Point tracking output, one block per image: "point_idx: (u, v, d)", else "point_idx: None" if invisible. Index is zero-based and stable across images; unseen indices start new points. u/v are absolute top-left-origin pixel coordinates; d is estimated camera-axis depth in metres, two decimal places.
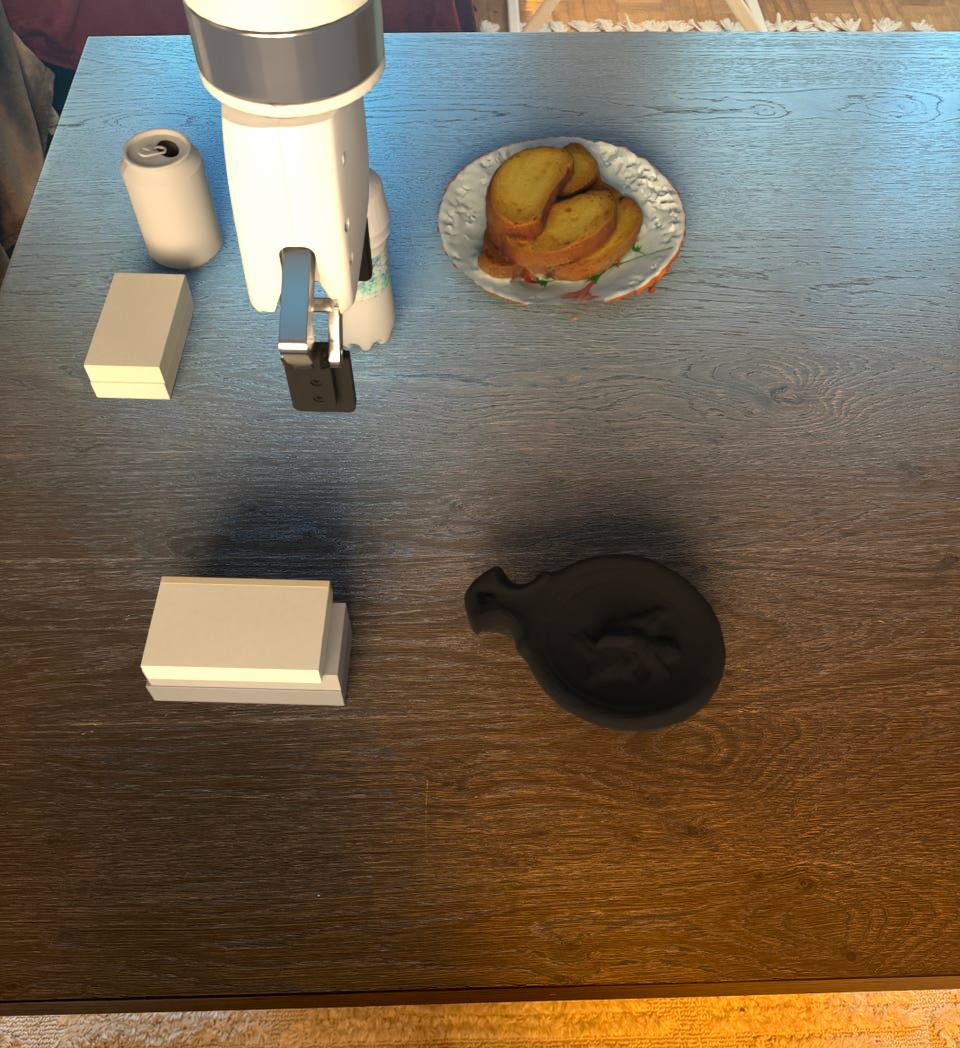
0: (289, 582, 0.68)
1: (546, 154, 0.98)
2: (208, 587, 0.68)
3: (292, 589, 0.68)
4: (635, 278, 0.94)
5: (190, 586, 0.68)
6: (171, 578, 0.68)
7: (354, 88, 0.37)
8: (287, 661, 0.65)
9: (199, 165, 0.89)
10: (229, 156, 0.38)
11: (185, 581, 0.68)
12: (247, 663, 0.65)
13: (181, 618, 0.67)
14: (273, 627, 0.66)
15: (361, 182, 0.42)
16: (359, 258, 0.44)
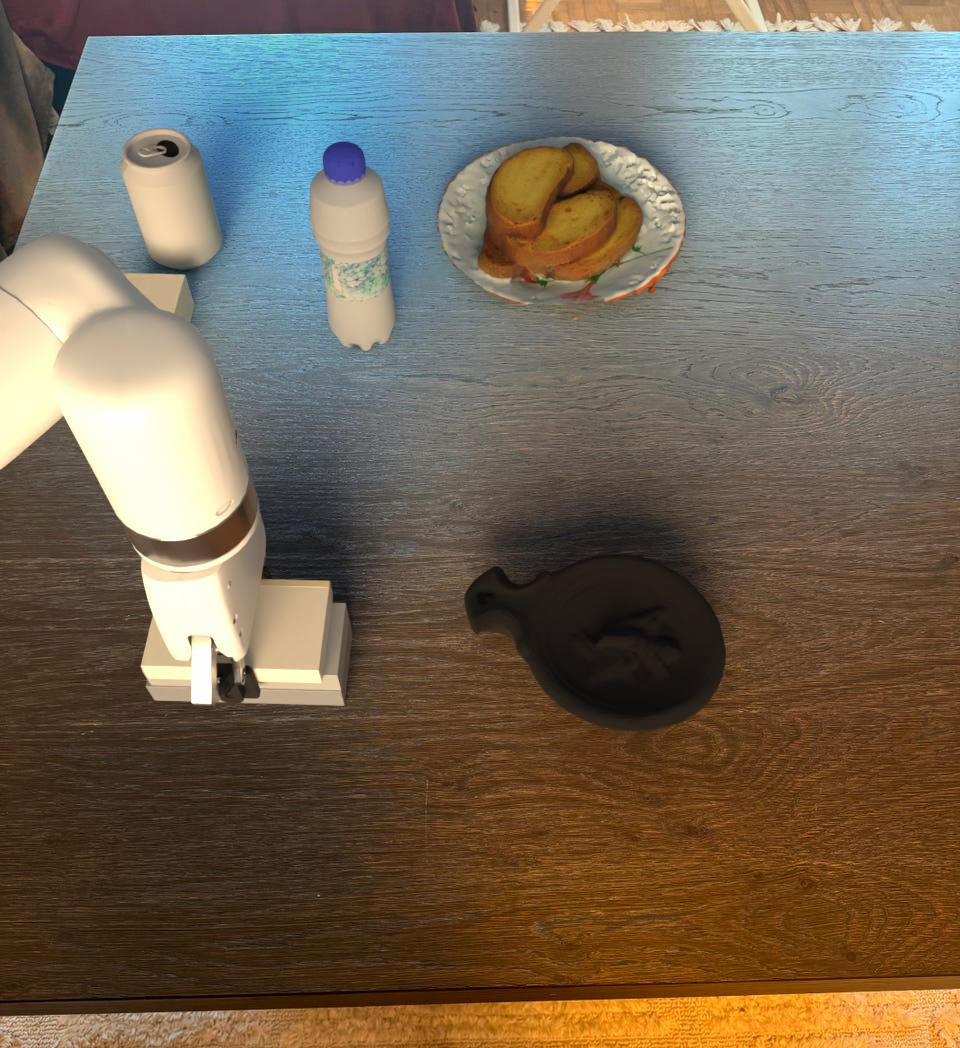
0: (289, 582, 0.68)
1: (546, 154, 0.98)
2: None
3: (292, 589, 0.68)
4: (635, 278, 0.94)
5: None
6: None
7: (233, 549, 0.54)
8: (287, 661, 0.65)
9: (199, 165, 0.89)
10: (147, 592, 0.54)
11: None
12: (247, 663, 0.65)
13: None
14: (273, 627, 0.66)
15: (249, 576, 0.59)
16: (251, 619, 0.61)
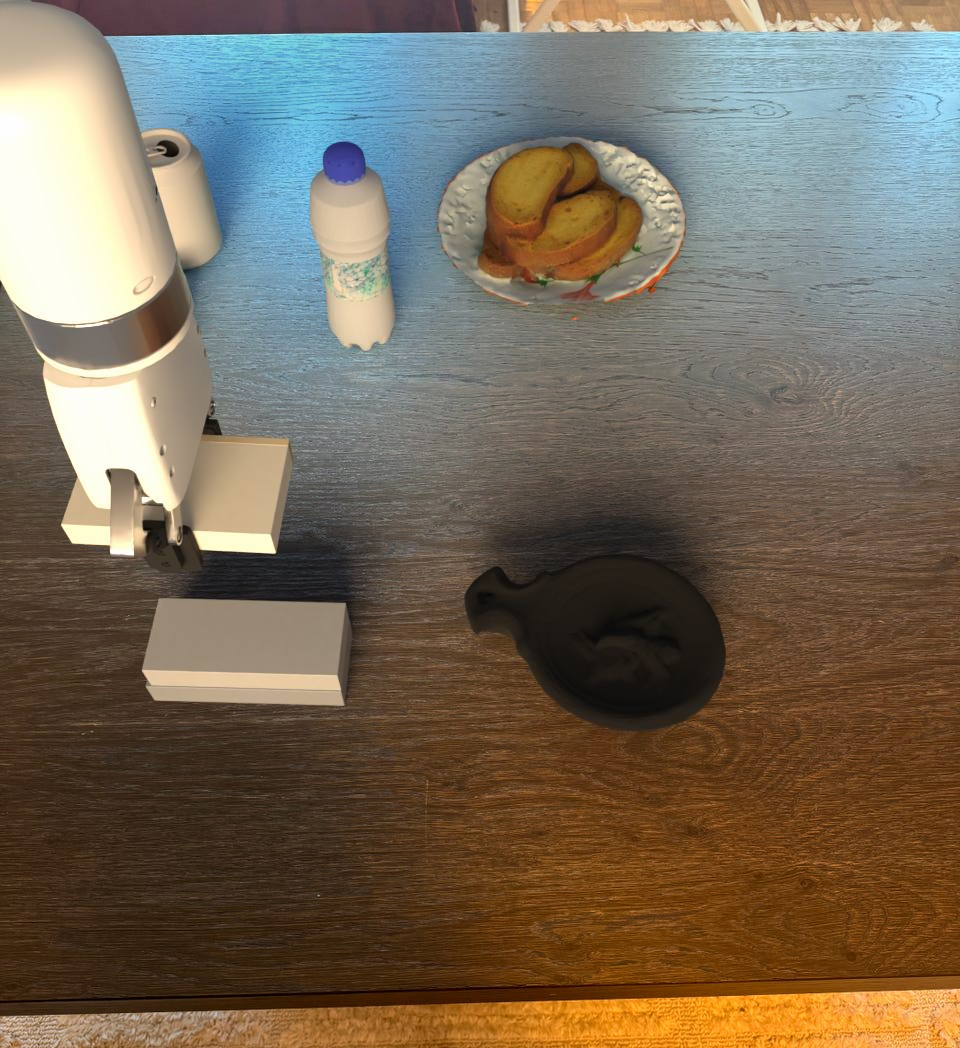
0: (242, 439, 0.58)
1: (546, 154, 0.98)
2: None
3: (245, 446, 0.58)
4: (635, 278, 0.94)
5: None
6: None
7: (156, 352, 0.44)
8: (234, 524, 0.55)
9: (199, 165, 0.89)
10: (52, 404, 0.45)
11: None
12: (187, 525, 0.55)
13: None
14: (220, 486, 0.56)
15: (183, 405, 0.49)
16: (187, 462, 0.51)
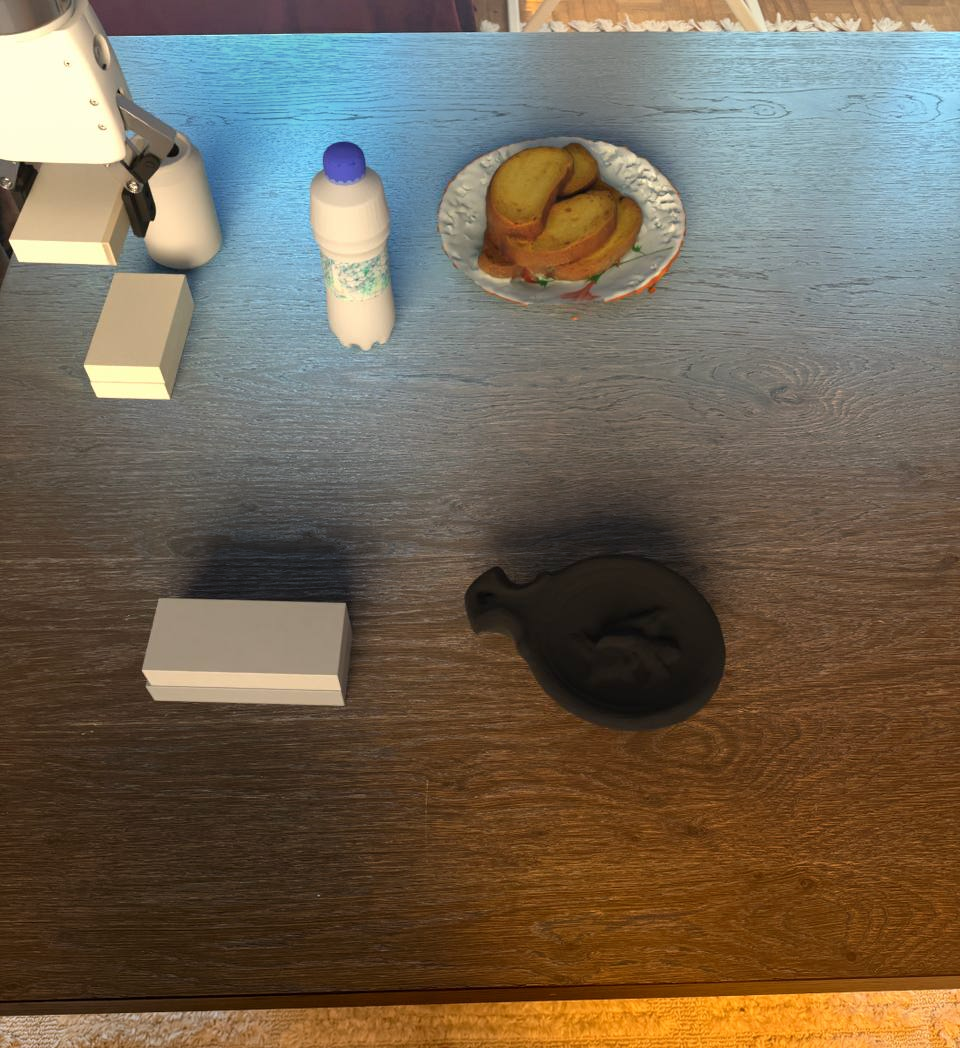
0: (115, 216, 0.69)
1: (546, 154, 0.98)
2: None
3: (105, 218, 0.69)
4: (635, 278, 0.94)
5: None
6: (140, 145, 0.74)
7: None
8: (26, 220, 0.69)
9: (199, 165, 0.89)
10: None
11: None
12: (33, 196, 0.70)
13: None
14: (66, 209, 0.70)
15: (13, 104, 0.63)
16: (12, 144, 0.66)
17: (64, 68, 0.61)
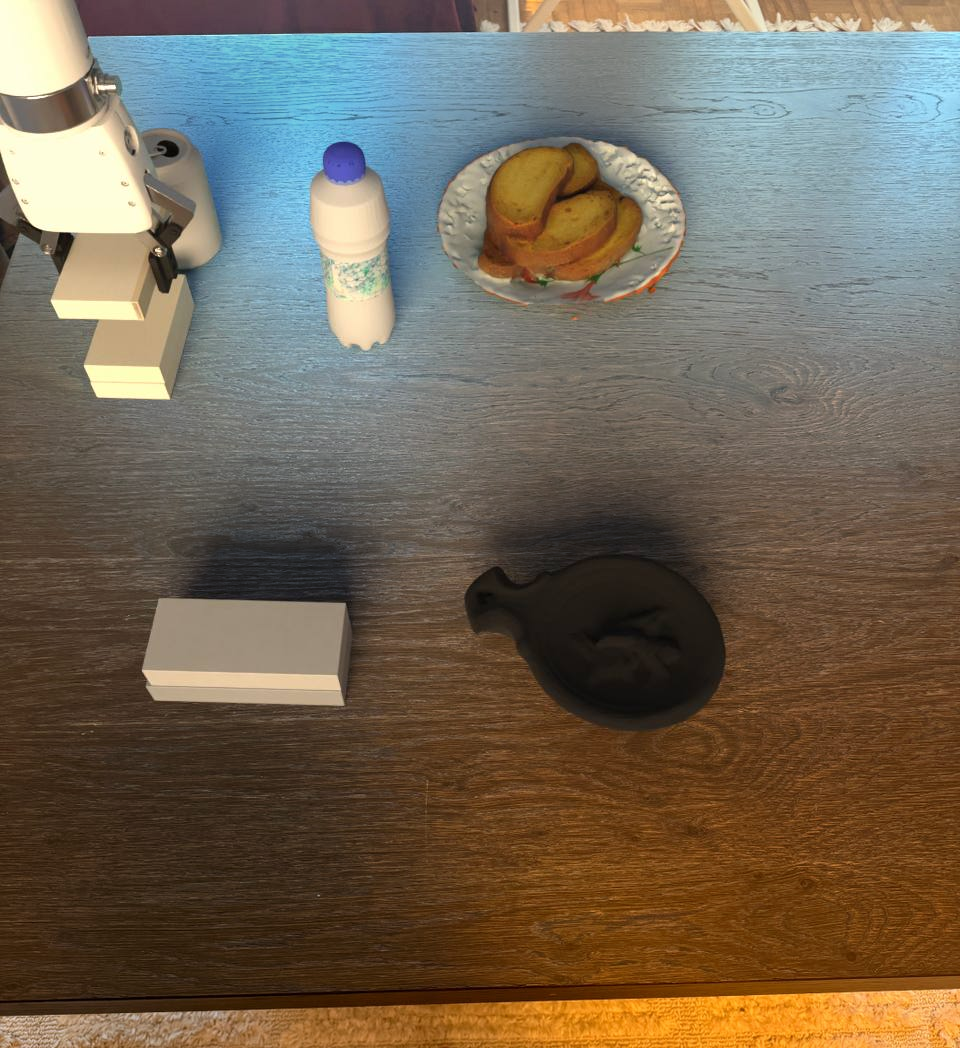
0: (142, 277, 0.79)
1: (546, 154, 0.98)
2: None
3: (134, 279, 0.79)
4: (635, 278, 0.94)
5: None
6: (164, 210, 0.83)
7: (6, 124, 0.68)
8: (65, 281, 0.78)
9: (199, 165, 0.89)
10: None
11: None
12: (70, 259, 0.80)
13: None
14: (100, 271, 0.79)
15: (55, 186, 0.72)
16: (54, 218, 0.75)
17: (99, 156, 0.70)
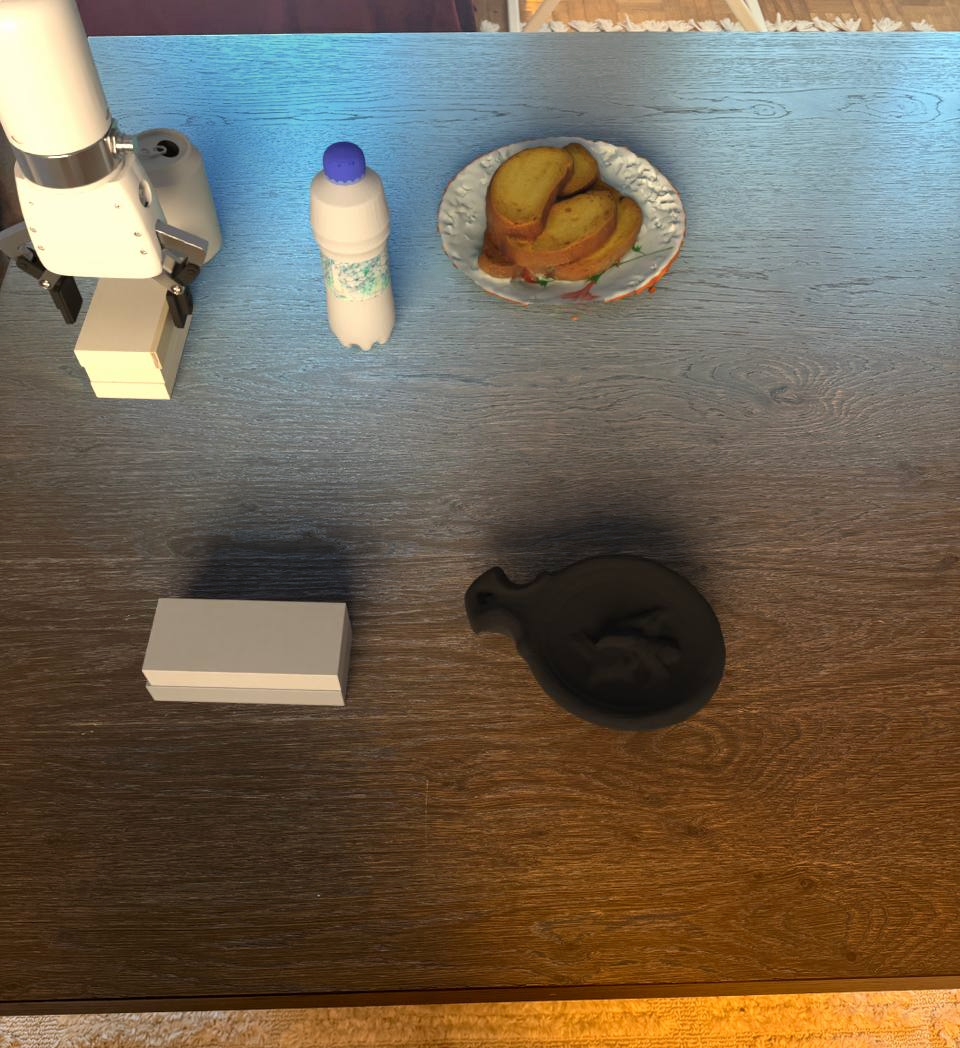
0: (160, 328, 0.83)
1: (546, 154, 0.98)
2: None
3: (152, 330, 0.83)
4: (635, 278, 0.94)
5: None
6: None
7: (28, 179, 0.71)
8: (87, 332, 0.83)
9: (199, 165, 0.89)
10: None
11: None
12: (92, 310, 0.85)
13: None
14: (120, 322, 0.84)
15: (71, 235, 0.76)
16: (68, 263, 0.79)
17: (115, 209, 0.74)
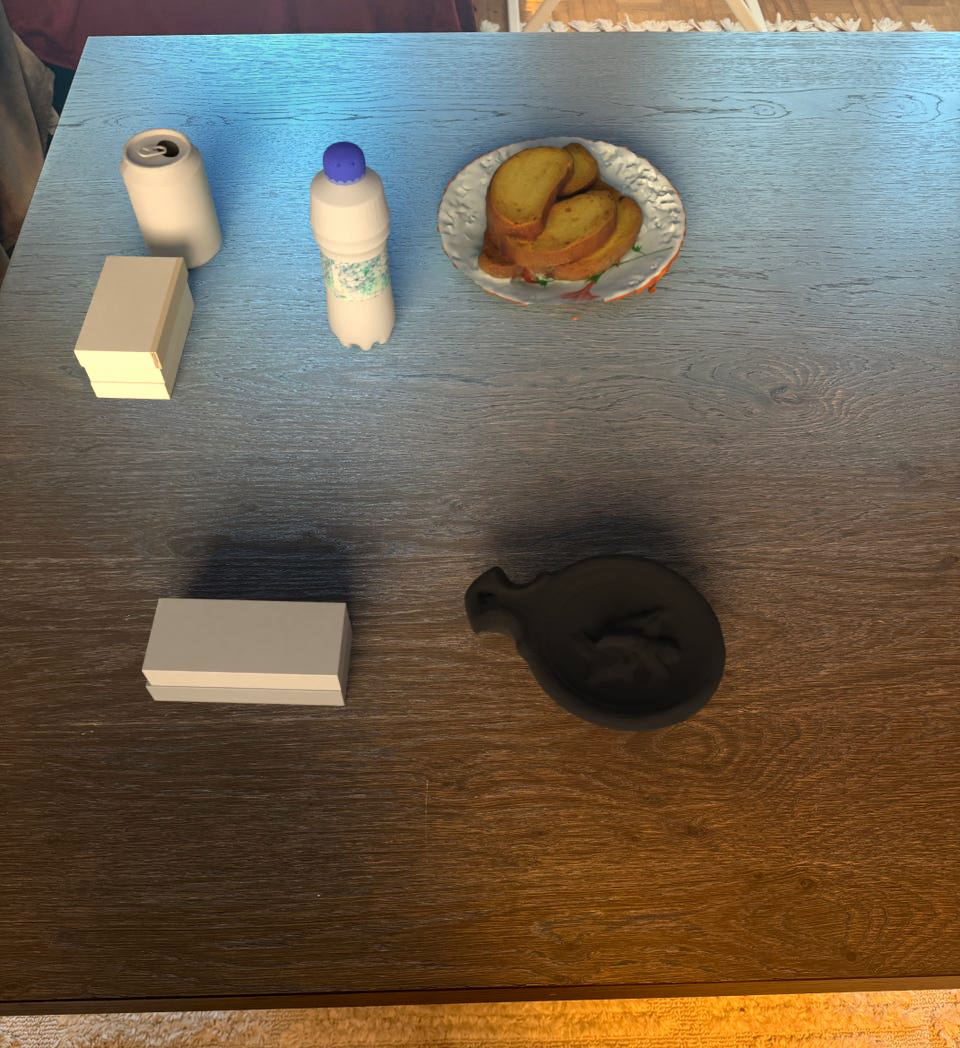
0: (160, 328, 0.83)
1: (546, 154, 0.98)
2: (166, 283, 0.87)
3: (152, 330, 0.83)
4: (635, 278, 0.94)
5: (169, 273, 0.87)
6: (179, 262, 0.88)
7: None
8: (87, 332, 0.83)
9: (199, 165, 0.89)
10: None
11: (175, 270, 0.88)
12: (92, 310, 0.85)
13: (141, 272, 0.87)
14: (120, 322, 0.84)
15: None
16: None
17: None
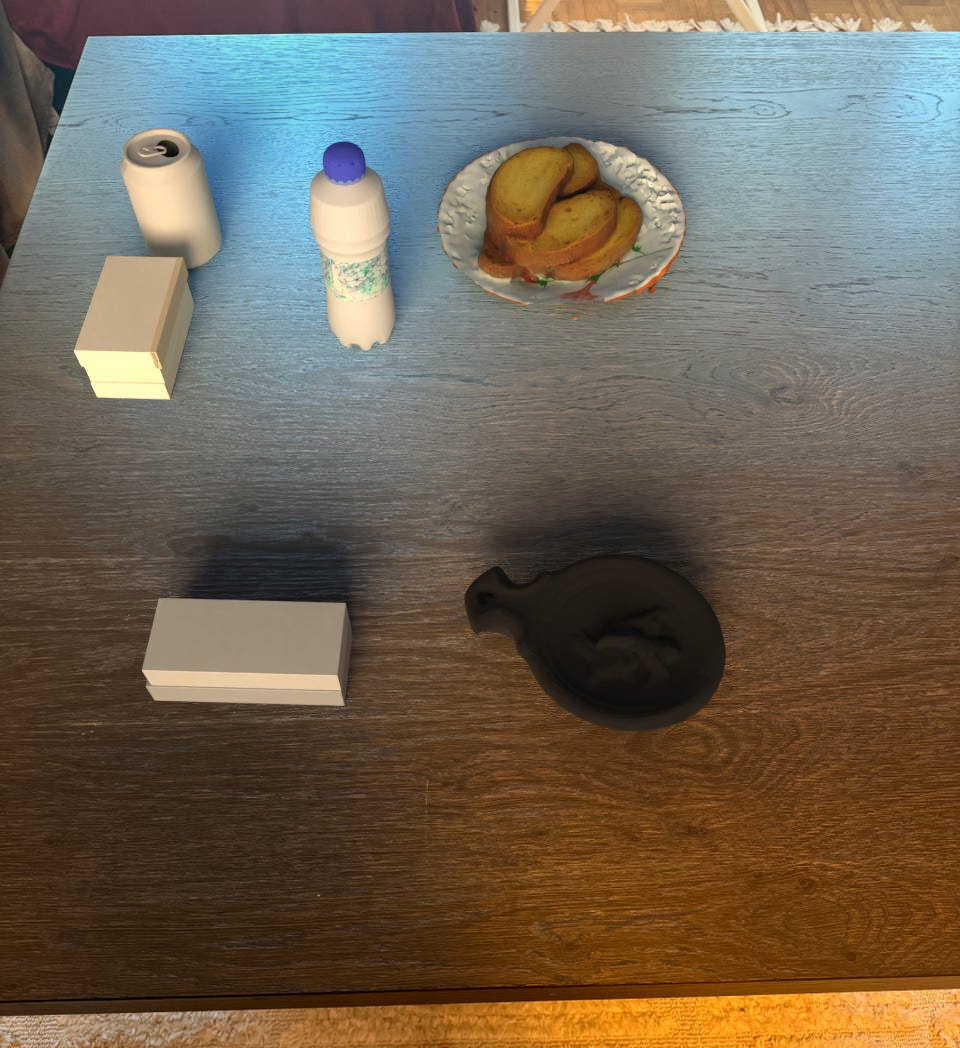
0: (160, 328, 0.83)
1: (546, 154, 0.98)
2: (166, 283, 0.87)
3: (152, 330, 0.83)
4: (635, 278, 0.94)
5: (169, 273, 0.87)
6: (179, 262, 0.88)
7: None
8: (87, 332, 0.83)
9: (199, 165, 0.89)
10: None
11: (175, 270, 0.88)
12: (92, 310, 0.85)
13: (141, 272, 0.87)
14: (120, 322, 0.84)
15: None
16: None
17: None
